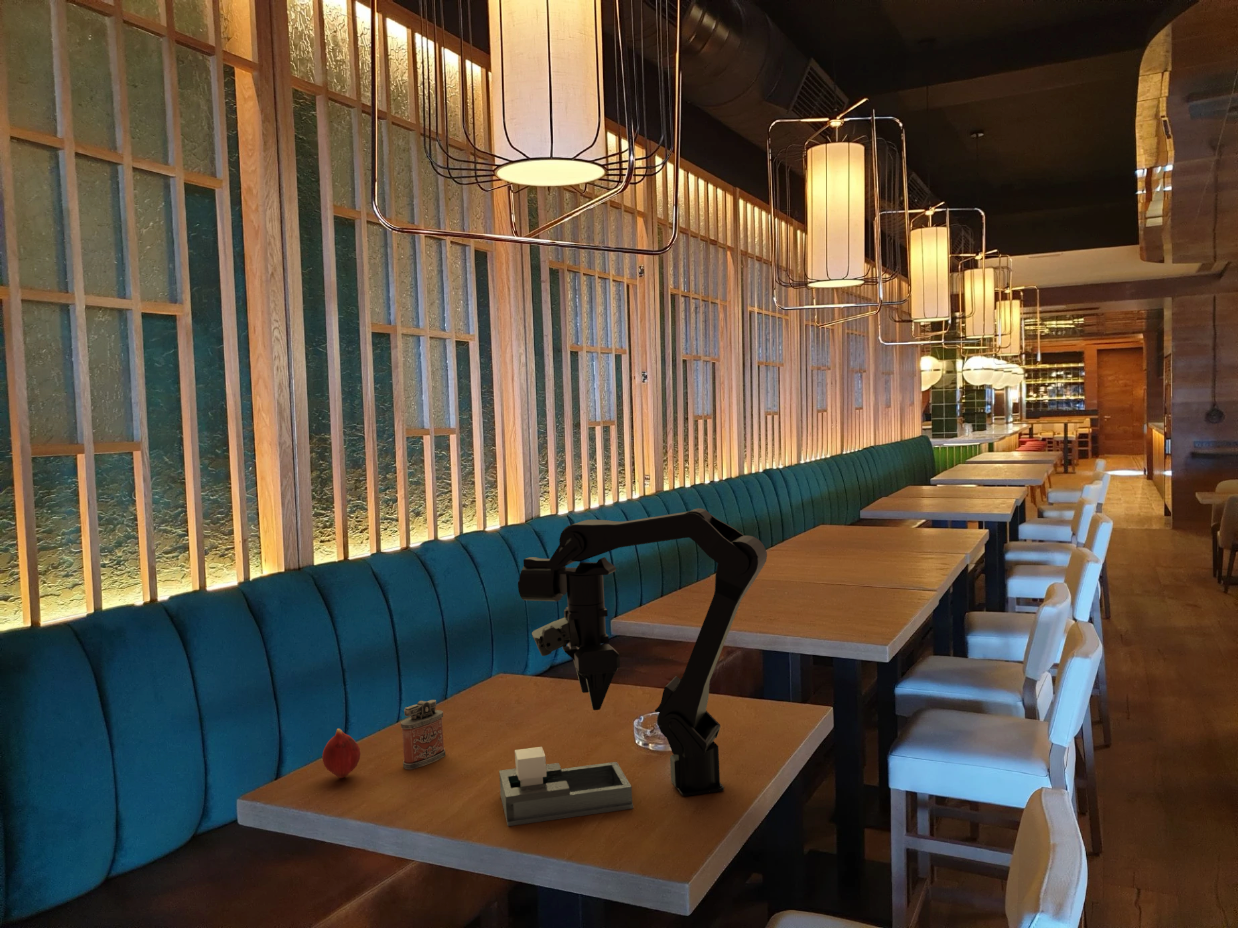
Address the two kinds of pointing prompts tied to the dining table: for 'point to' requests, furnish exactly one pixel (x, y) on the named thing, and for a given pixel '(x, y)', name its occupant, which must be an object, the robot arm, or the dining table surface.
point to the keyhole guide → (565, 793)
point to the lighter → (422, 735)
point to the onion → (341, 754)
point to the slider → (530, 766)
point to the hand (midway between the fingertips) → (590, 700)
